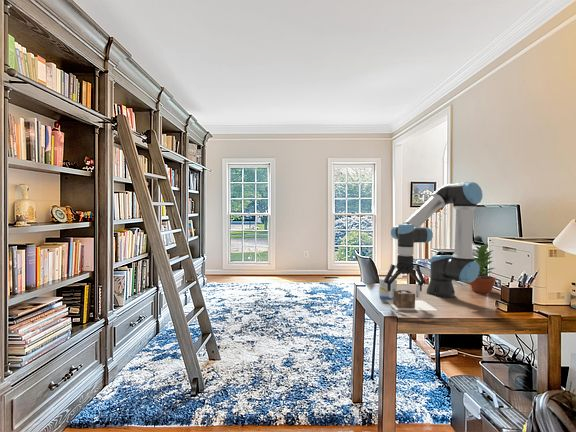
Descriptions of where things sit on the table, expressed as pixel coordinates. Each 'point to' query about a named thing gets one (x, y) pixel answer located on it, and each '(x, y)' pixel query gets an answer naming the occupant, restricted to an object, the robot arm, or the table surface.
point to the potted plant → (483, 272)
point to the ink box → (383, 289)
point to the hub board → (418, 306)
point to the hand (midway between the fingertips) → (404, 297)
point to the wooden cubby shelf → (404, 299)
